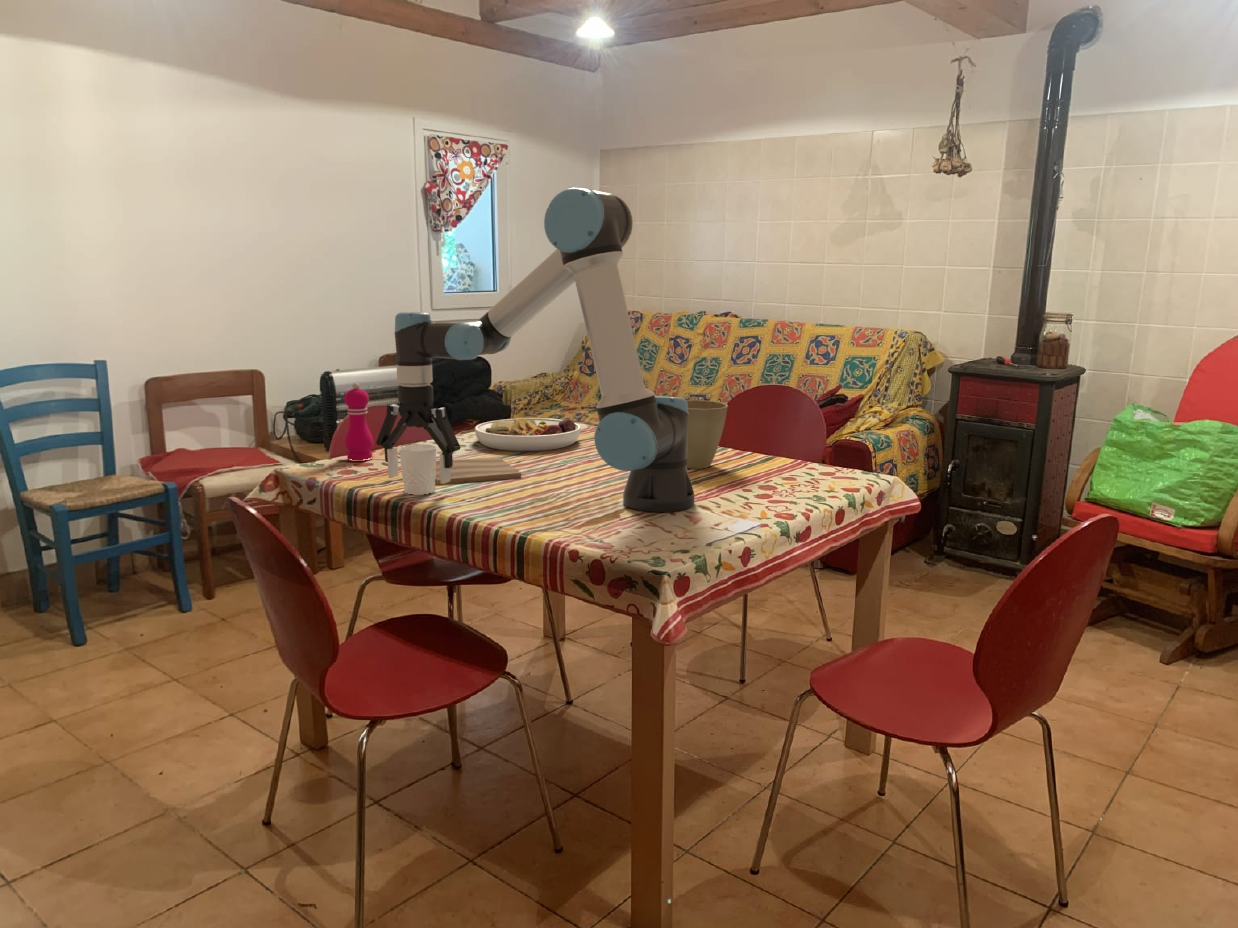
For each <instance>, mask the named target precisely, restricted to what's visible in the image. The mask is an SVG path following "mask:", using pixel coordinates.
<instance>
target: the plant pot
mask: <svg viewBox="0 0 1238 928" xmlns="http://www.w3.org/2000/svg"><path fill="white" fill-rule="evenodd" d="M685 400H686V401H687V403H688V412H689V417H688V442H687V469H688V468H691V469H690V470H703V469H702V468H706V469H708V468H707V467H709V466H710V467H711V465H712V463H713V461H714V459H715V456H716V453H717V450H718V447H719V444H720V441H721V439H722V435H723V431H724V427H725V423H726V418H727V411H728V407H729V405H728V404H726V403H724V402H720V401H713V400H712V401H711V400H705V399H704V400H703V399H700V400H699V399H685ZM710 467H709V468H710Z"/></svg>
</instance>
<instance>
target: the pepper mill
mask: <svg viewBox="0 0 1238 928" xmlns="http://www.w3.org/2000/svg"><path fill="white" fill-rule="evenodd" d="M351 386H352V387H351V388H352V389H349V390H347V392H345V395H344V403H345V405H346V406H347V407H348V408H346V409H347V413H346V414H348V416H349V423H348V430H347V432H346V435H345V437H344V438H345V439H344V447H345V448H346V449H347V450H348V453H346V454H347V455H346V456H347V458H348V459H352V460H363V459H368V458H371V457H372V458H373V452H372V451H371V449H373V447H374V445H375V444H374V438H373V435H372V432H371V431H370V429H369V426H368V424H367V418H366V417H367V414H368V413H369V411H368V407H367V406H368V404H369V402H370V397H369V393H368V392H366V390H364V389H361V388H360V386H361V385H360V384H359V383H358V382H354V383H353V384H352V385H351ZM348 459H347V460H348Z"/></svg>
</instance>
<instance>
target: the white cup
mask: <svg viewBox="0 0 1238 928" xmlns="http://www.w3.org/2000/svg"><path fill="white" fill-rule="evenodd" d="M399 457H400V468H401V477H402V482H403V491H404V492H403V493H405V492H406V493H408V494H407V495H409V494H413V495H412V496H424V494H426V495H430V494H429V493H431V494H433V493H435V492H436V483H435V479H436V462H437V447H436V446H435V445H432V444H420V443H419V444H410V445H409V444H408V445H403V446H401V447H399ZM434 491H435V492H434ZM406 493H405V494H406Z"/></svg>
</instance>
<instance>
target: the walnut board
mask: <svg viewBox="0 0 1238 928" xmlns="http://www.w3.org/2000/svg"><path fill="white" fill-rule="evenodd" d="M520 478H522V472H521V471H519V470H518V469H517V468H515V467H513V466H512V465H511V464H509V463H508V462H506V460H503V459H502V458H501V457H499V456H494V457H493V456H491V457H482V458H481V457H480V458H479V457H478V458H477V457H476V458H466V459H464V458H463V459H453V466H452V467H451V468H450V482H447V483H445V484H444V485H449V484H450V485H451V484H452V485H453V484H462V483H475V482H476V483H477V482H486V481H498V480H508V479H520ZM435 485H437V486H440V485H441V486H442V485H443V484H441V480H440V460H439V461H437V460H436V479H435Z"/></svg>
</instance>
